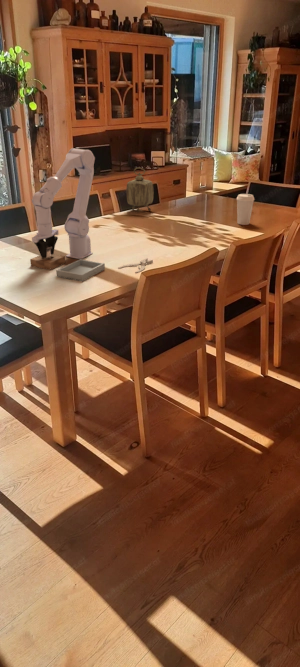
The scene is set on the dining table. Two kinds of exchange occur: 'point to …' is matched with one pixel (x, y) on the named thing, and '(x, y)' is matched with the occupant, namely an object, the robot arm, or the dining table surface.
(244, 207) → the coffee cup
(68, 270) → the tray
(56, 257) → the brown square frame
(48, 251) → the pin
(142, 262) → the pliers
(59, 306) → the dining table surface
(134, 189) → the tabletop clock
